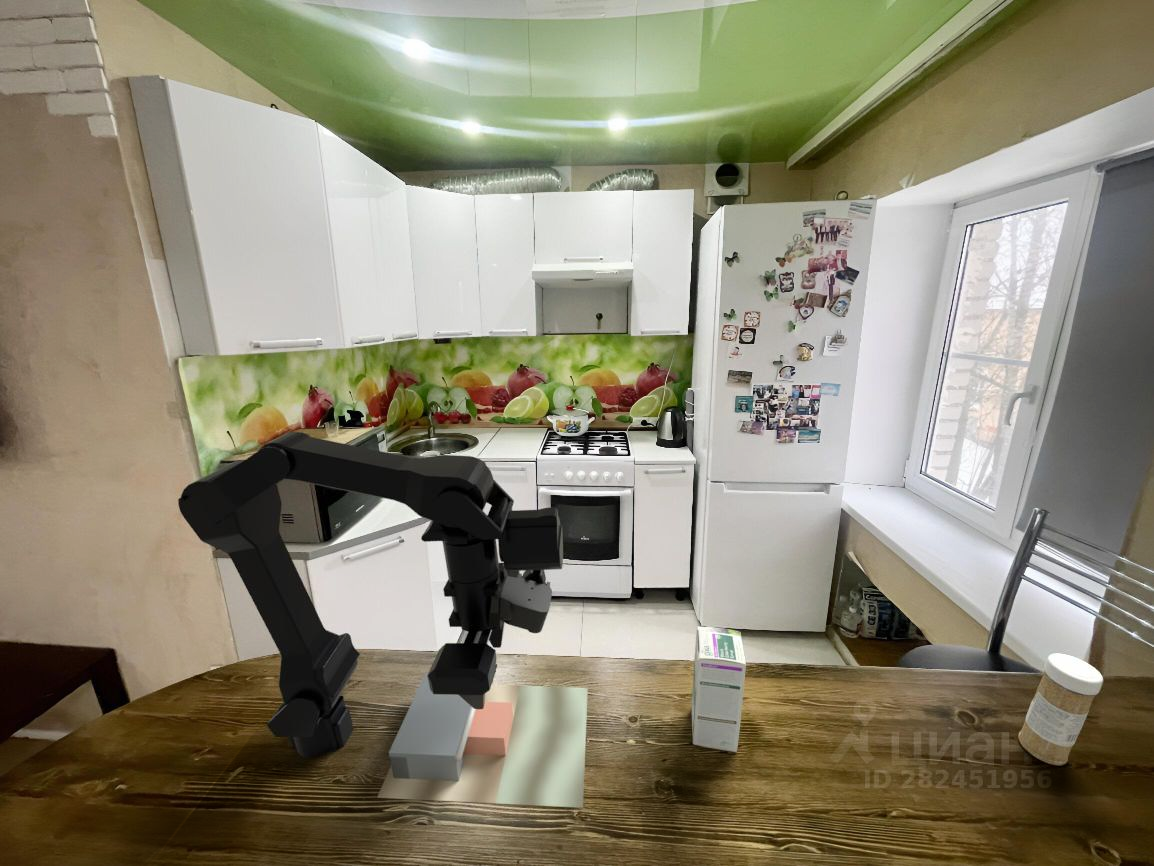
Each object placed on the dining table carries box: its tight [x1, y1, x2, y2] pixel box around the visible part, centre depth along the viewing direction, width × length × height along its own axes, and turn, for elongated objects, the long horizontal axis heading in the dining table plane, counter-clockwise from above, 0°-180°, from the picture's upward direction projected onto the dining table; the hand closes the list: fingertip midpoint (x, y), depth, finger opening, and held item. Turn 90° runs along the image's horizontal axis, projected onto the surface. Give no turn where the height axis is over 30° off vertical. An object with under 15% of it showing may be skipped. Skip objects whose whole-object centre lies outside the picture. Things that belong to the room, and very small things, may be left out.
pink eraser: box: [463, 702, 513, 756], centre depth 59 cm, size 10×5×3 cm, turn 87°
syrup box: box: [691, 625, 747, 753], centre depth 59 cm, size 6×6×14 cm
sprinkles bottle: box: [1017, 653, 1104, 766], centre depth 55 cm, size 5×5×14 cm
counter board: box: [377, 684, 589, 809], centre depth 60 cm, size 24×16×1 cm, turn 87°
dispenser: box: [388, 672, 476, 781], centre depth 59 cm, size 9×12×4 cm
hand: (488, 675), depth 56 cm, fingers open, 9 cm apart
